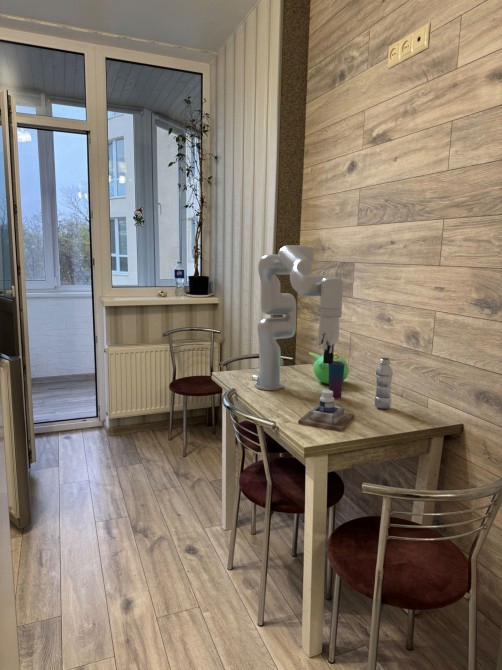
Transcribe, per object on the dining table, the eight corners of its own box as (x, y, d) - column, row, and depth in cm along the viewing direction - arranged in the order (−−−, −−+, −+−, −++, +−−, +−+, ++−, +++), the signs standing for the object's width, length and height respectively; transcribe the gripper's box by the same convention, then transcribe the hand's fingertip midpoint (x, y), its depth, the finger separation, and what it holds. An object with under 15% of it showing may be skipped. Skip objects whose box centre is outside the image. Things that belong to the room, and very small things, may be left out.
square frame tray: (298, 423, 170) (298, 412, 169) (313, 410, 184) (313, 400, 183) (341, 431, 163) (341, 419, 162) (354, 417, 177) (354, 406, 176)
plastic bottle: (382, 411, 183) (385, 361, 180) (370, 406, 189) (372, 357, 186) (394, 409, 186) (397, 359, 183) (382, 404, 192) (385, 356, 189)
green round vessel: (354, 387, 216) (355, 356, 213) (319, 389, 212) (320, 357, 209) (337, 377, 233) (338, 348, 230) (305, 379, 229) (306, 349, 226)
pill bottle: (317, 414, 176) (318, 389, 174) (331, 414, 176) (332, 389, 175) (321, 419, 171) (321, 393, 169) (335, 419, 171) (336, 393, 169)
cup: (343, 399, 198) (344, 364, 195) (326, 398, 199) (328, 364, 196) (343, 395, 204) (344, 361, 202) (327, 394, 206) (328, 360, 203)
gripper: (327, 309, 175) (324, 357, 178) (313, 314, 162) (311, 366, 165) (347, 311, 171) (344, 360, 175) (334, 316, 158) (331, 369, 162)
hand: (328, 363), depth 170 cm, fingers closed
